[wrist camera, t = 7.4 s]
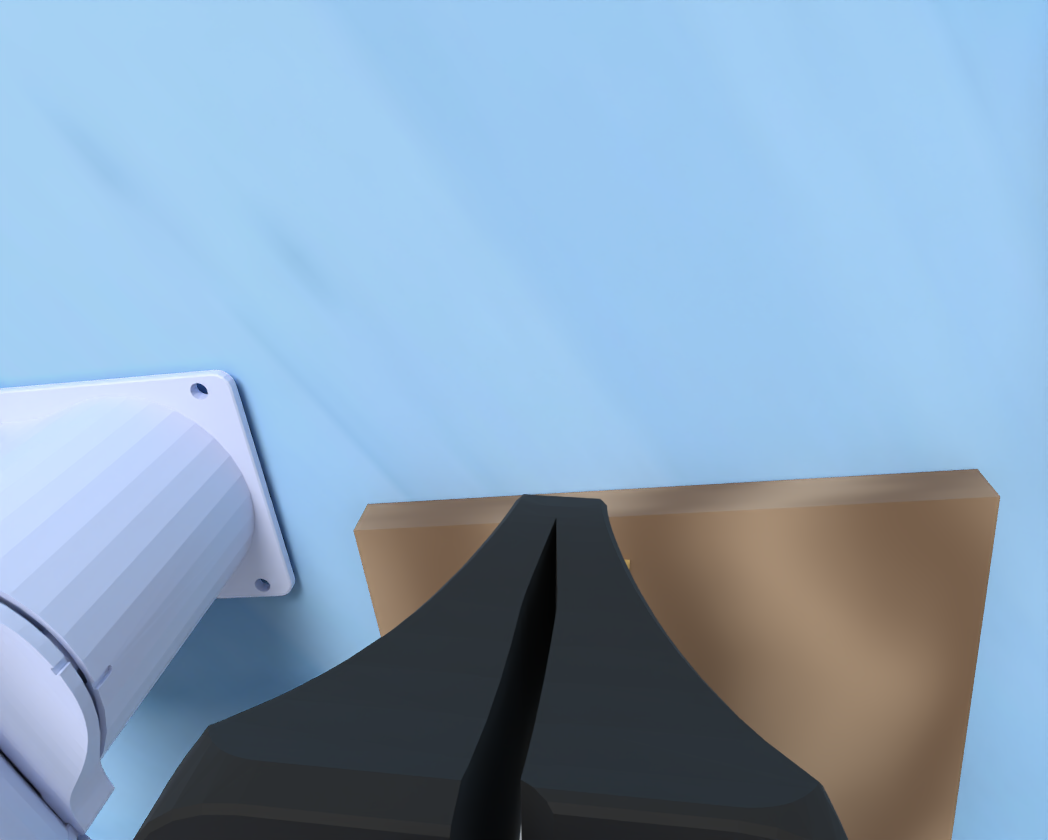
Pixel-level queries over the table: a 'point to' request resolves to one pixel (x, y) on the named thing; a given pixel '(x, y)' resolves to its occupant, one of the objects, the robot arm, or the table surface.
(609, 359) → the table surface
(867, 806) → the stand board
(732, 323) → the table surface
